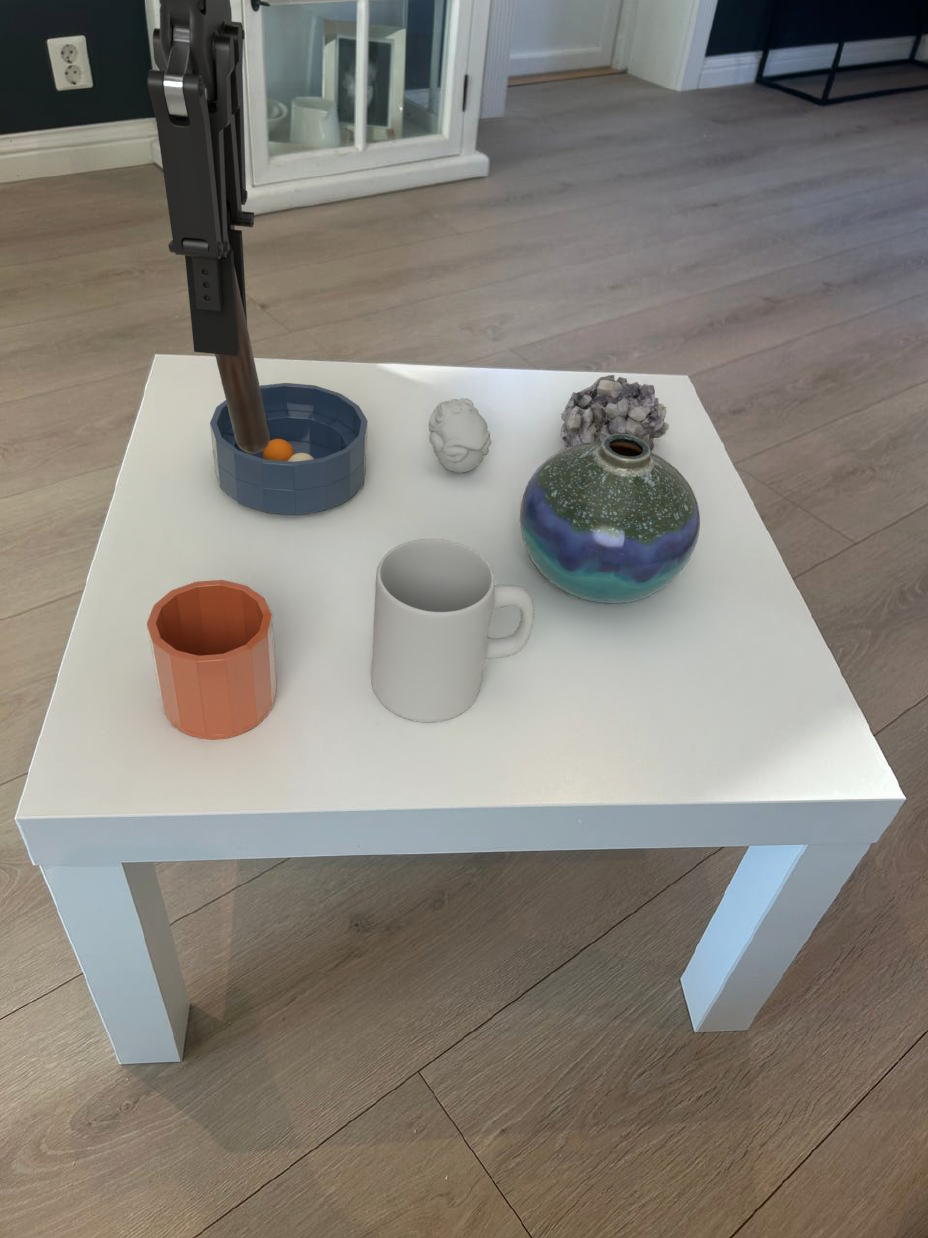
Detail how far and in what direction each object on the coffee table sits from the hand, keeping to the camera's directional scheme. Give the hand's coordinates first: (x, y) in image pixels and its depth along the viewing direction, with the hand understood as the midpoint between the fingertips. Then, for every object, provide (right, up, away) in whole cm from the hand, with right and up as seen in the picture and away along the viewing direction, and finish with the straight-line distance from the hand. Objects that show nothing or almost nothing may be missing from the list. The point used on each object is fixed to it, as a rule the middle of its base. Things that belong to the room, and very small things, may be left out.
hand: (221, 339), depth 63 cm
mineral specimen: (+31, 0, +40) cm, 51 cm away
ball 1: (-2, -2, +30) cm, 30 cm away
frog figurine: (+15, -3, +35) cm, 38 cm away
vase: (+28, -14, +25) cm, 40 cm away
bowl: (-1, -4, +31) cm, 32 cm away
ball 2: (0, -4, +29) cm, 29 cm away
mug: (+14, -23, +13) cm, 30 cm away
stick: (+1, -6, +6) cm, 8 cm away
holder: (-3, -24, +9) cm, 26 cm away
